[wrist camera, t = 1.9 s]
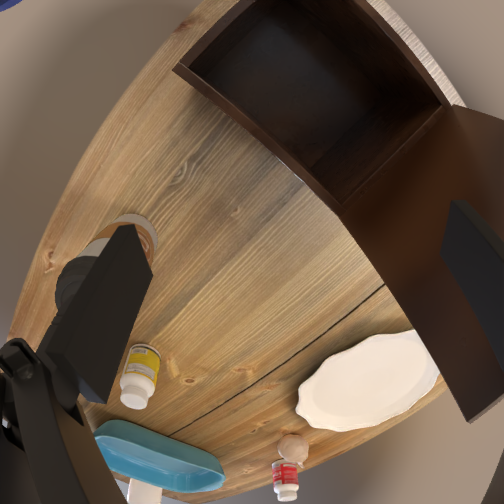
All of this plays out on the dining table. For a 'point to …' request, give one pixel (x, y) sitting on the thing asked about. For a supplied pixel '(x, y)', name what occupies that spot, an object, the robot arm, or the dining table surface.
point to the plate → (368, 382)
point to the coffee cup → (85, 260)
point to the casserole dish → (157, 458)
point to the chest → (318, 89)
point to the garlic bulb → (293, 449)
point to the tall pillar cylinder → (143, 493)
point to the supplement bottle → (139, 375)
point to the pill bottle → (285, 479)
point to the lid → (438, 244)
